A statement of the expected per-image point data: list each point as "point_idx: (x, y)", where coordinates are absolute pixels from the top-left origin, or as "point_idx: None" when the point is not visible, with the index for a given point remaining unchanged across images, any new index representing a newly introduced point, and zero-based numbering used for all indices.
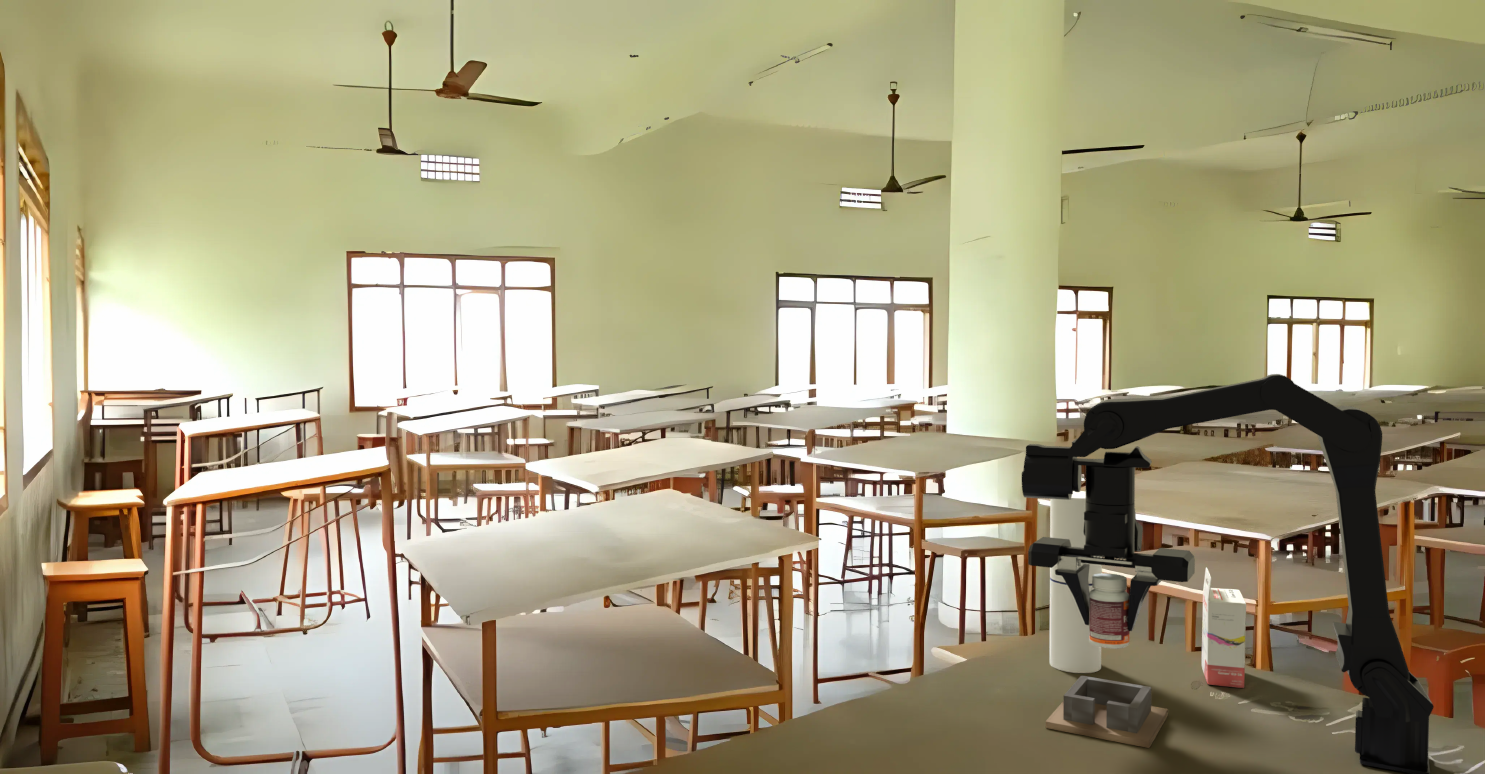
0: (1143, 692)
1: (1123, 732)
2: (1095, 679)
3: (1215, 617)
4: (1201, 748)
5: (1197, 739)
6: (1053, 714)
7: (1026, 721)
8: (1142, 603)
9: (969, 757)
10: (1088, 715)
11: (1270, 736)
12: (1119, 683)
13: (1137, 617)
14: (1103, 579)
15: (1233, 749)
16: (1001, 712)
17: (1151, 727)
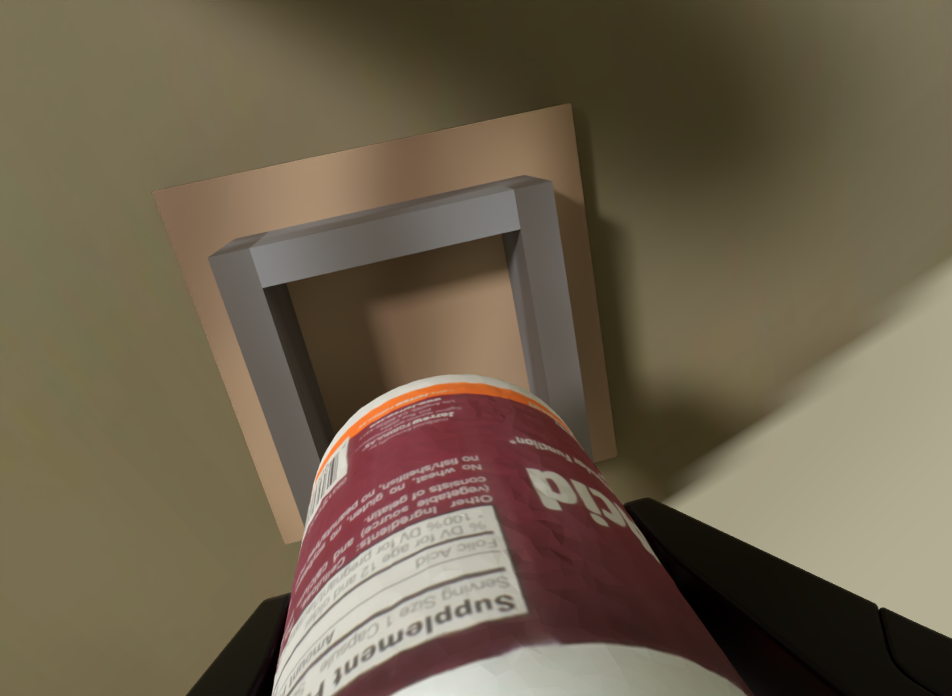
0: (550, 282)
1: None
2: (297, 266)
3: None
4: (734, 339)
5: (709, 275)
6: (265, 474)
7: (205, 528)
8: (876, 609)
9: None
10: None
11: (909, 65)
12: (413, 236)
13: (726, 536)
14: None
15: (816, 277)
16: (82, 523)
17: (585, 345)
